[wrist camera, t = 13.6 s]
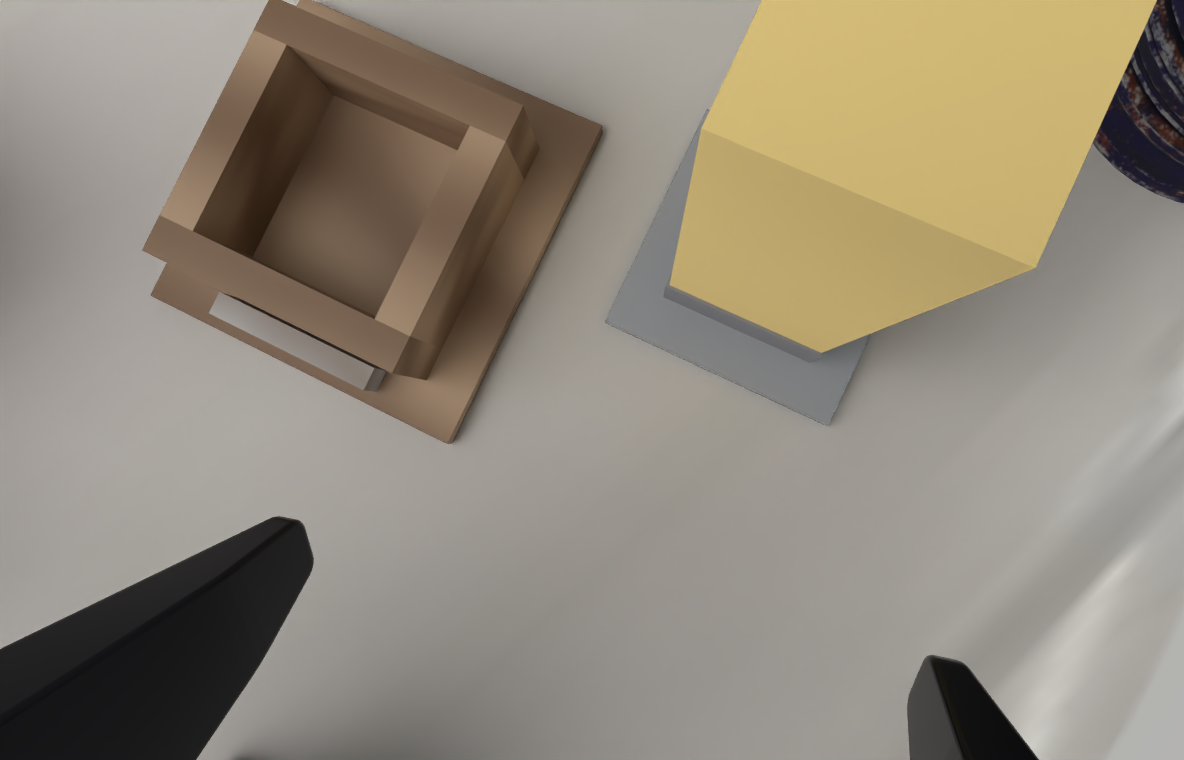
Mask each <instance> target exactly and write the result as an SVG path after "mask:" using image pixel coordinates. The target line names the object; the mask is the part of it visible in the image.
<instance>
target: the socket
mask: <svg viewBox="0 0 1184 760" xmlns="http://www.w3.org/2000/svg"><path fill="white" fill-rule="evenodd" d="M602 133H603V131H602V126H601V125H599V124H597V123H594V122H592V121H590V120H588V119H585V118H583V117H581V116H578V115H576V114H574V113H571V112H569V111H567V110H564V109H562V108H560V107H557V106H555V105H553V104H550V103H548V102H546V101H543V100H541V99H539V98H537V97H534V96H532V95H530V94H527V93H525V92H523V91H520V90H518V89H516V88H513V87H511V86H509V85H506V84H504V83H502V82H499V81H497V80H495V79H492V78H490V77H488V76H486V75H483V74H481V73H479V72H476V71H474V70H472V69H469V68H467V67H465V66H462V65H460V64H458V63H455V62H453V61H451V60H448V59H446V58H444V57H441V56H439V55H437V54H435V53H432V52H430V51H428V50H425V49H423V48H421V47H418V46H416V45H414V44H411V43H409V42H407V41H404V40H402V39H400V38H397V37H395V36H393V35H390V34H388V33H386V32H384V31H381V30H379V29H377V28H374V27H372V26H370V25H367V24H365V23H363V22H360V21H358V20H356V19H353V18H351V17H349V16H346V15H344V14H342V13H339V12H337V11H335V10H333V9H330V8H328V7H326V6H323V5H321V4H319V3H316V2H314V1H312V0H299V2H298V4H297V6H294V5H291V4H289V3H287V2H284V1H282V0H269V1H268V3H267V5H266V7H265V9H264V11H263V13H262V15H261V16H260V18H259V20H258V22H257V24H256V26H255V28H254V30H253V32H252V34H251V36H250V38H249V40H248V42H247V44H246V46H245V48H244V50H243V52H242V54H241V56H240V58H239V60H238V62H237V64H236V66H235V68H234V70H233V72H232V74H231V76H230V78H229V80H228V82H227V84H226V86H225V88H224V89H223V91H222V93H221V95H220V97H219V99H218V101H217V103H216V105H215V107H214V109H213V111H212V113H211V115H210V117H209V119H208V121H207V123H206V125H205V127H204V129H203V131H202V133H201V135H200V137H199V139H198V141H197V143H196V145H195V147H194V149H193V151H192V153H191V155H190V157H189V159H188V161H187V162H186V164H185V166H184V168H183V170H182V172H181V174H180V176H179V178H178V180H177V182H176V184H175V186H174V188H173V190H172V192H171V194H170V196H169V198H168V200H167V202H166V204H165V206H164V208H163V210H162V212H161V214H160V216H159V218H158V220H157V222H156V224H155V226H154V228H153V230H152V232H151V234H150V236H149V237H148V239H147V241H146V243H145V245H144V247H143V249H142V251H144V252H147V253H149V254H151V255H153V256H155V257H157V258H159V259H161V260H163V261H165V262H167V264H166V266H165V268H164V270H163V272H162V274H161V276H160V278H159V280H158V282H157V283H156V285H155V287H154V289H153V291H152V293H151V296H153V297H155V298H157V299H159V300H161V301H163V302H165V303H167V304H169V305H171V306H173V307H175V308H177V309H179V310H181V311H183V312H185V313H187V314H189V315H191V316H193V317H195V318H197V319H199V320H201V321H203V322H205V323H207V324H209V325H211V326H213V327H215V328H217V329H219V330H221V331H223V332H225V333H227V334H229V335H231V336H233V337H235V338H237V339H239V340H241V341H243V342H245V343H247V344H249V345H251V346H253V347H255V348H257V349H259V350H261V351H263V352H265V353H267V354H269V355H271V356H273V357H275V358H277V359H278V360H280V361H282V362H284V363H286V364H288V365H290V366H292V367H294V368H296V369H298V370H300V371H302V372H304V373H306V374H308V375H310V376H312V377H314V378H316V379H318V380H320V381H322V382H324V383H326V384H328V385H330V386H332V387H334V388H336V389H338V390H340V391H342V392H344V393H346V394H348V395H350V396H352V397H354V398H356V399H358V400H360V401H362V402H364V403H366V404H368V405H370V406H372V407H374V408H376V409H378V410H380V411H382V412H384V413H386V414H388V415H390V416H392V417H394V418H396V419H398V420H400V421H402V422H404V423H406V424H408V425H410V426H412V427H414V428H416V429H418V430H420V431H422V432H424V433H426V434H428V435H430V436H432V437H434V438H436V439H438V440H440V441H442V442H444V443H446V444H451V443H452V441H453V439H454V437H455V435H456V433H457V431H458V429H459V427H460V425H461V423H462V421H463V419H464V417H465V415H466V413H467V411H468V408H469V406H470V404H471V402H472V400H473V398H474V396H475V394H476V392H477V390H478V388H479V386H480V384H481V382H482V380H483V378H484V376H485V373H486V371H487V369H488V367H489V365H490V363H491V361H492V359H493V357H494V355H495V353H496V351H497V349H498V347H499V345H500V343H501V341H502V338H503V336H504V334H505V332H506V330H507V328H508V326H509V324H510V322H511V320H512V318H513V316H514V314H515V312H516V310H517V308H518V306H519V304H520V301H521V299H522V297H523V295H524V293H525V291H526V289H527V287H528V285H529V283H530V281H531V279H532V277H533V275H534V273H535V271H536V269H537V266H538V264H539V262H540V260H541V258H542V256H543V254H544V252H545V250H546V248H547V246H548V244H549V242H550V240H551V238H552V236H553V234H554V231H555V229H556V227H557V225H558V223H559V221H560V219H561V217H562V215H563V213H564V211H565V209H566V207H567V205H568V203H569V201H570V199H571V196H572V194H573V192H574V190H575V188H576V186H577V184H578V182H579V180H580V178H581V176H582V174H583V172H584V170H585V168H586V166H587V164H588V161H589V159H590V157H591V155H592V153H593V151H594V149H595V147H596V145H597V143H598V141H599V139H600V137H601V135H602Z"/></svg>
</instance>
